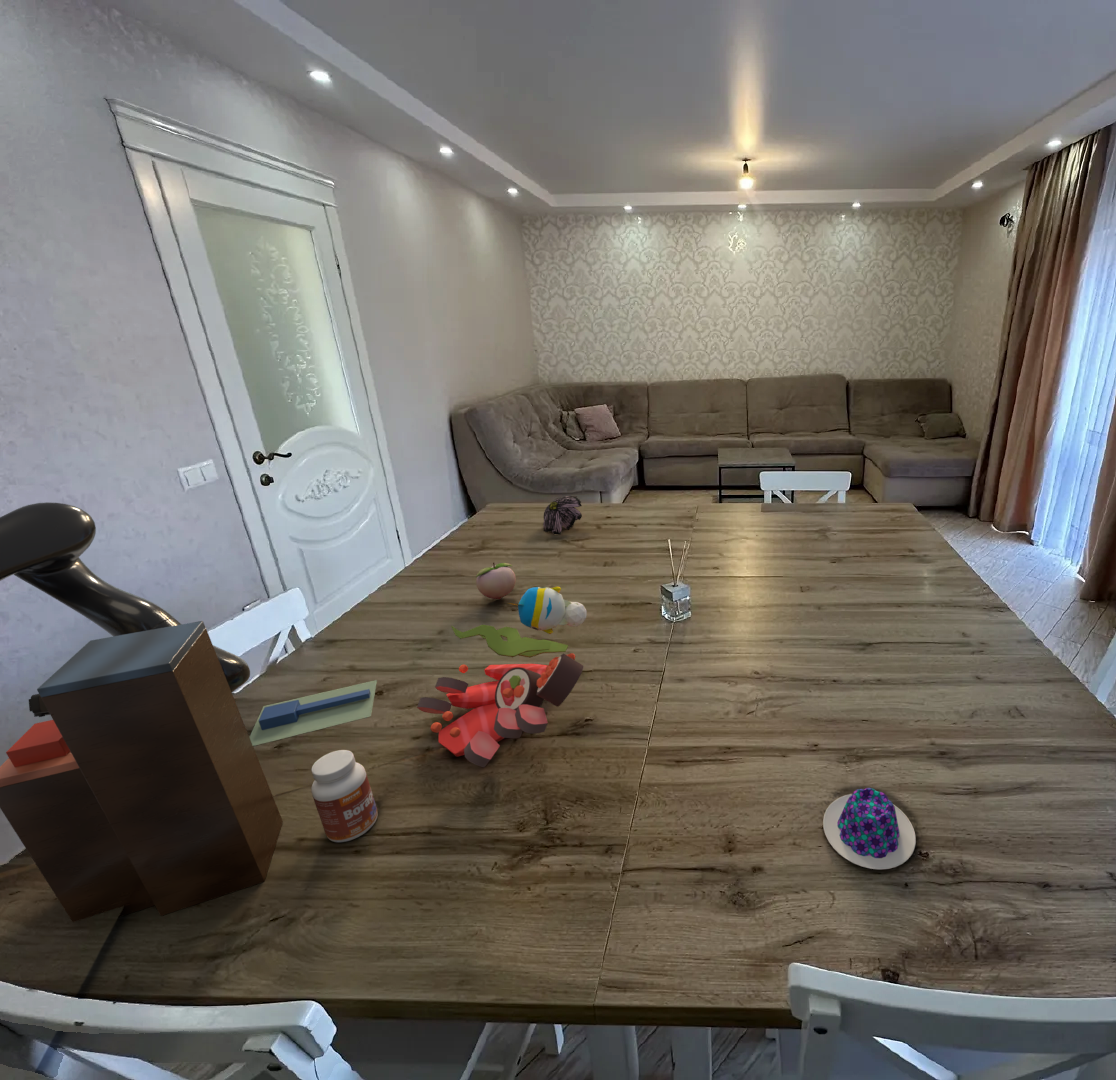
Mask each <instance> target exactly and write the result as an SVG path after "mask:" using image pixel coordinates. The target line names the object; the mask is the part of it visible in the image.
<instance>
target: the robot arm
mask: <svg viewBox="0 0 1116 1080" xmlns="http://www.w3.org/2000/svg"><path fill="white" fill-rule="evenodd" d="M96 532H97V526H96V523H95V521H94V519H93V517H92V516H91V515H90V514H89V513H88V512H87V511H86V510H84V509H82V508H80V507H77V506H75V505H72V504H67V503H63V502H52V501H51V502H50V501H49V502H48V501H47V502H36V503H31V504H26V505H23V506H20V507H19V508H16V509H14V510H12V511H10V512H7V513H6V514H4V515H1V516H0V582H1V581H4V580H5V579H7V578H9V577H11V576H15V577H16V578H18V579H20V580H22V581H23V582H25V583H27V584H28V585H31V586H32V587H34V588H36V589H38V590H39V591H41V592H43V593H45V594H47V595H48V596H50V597H51V598H53V599H55V600H57V601H58V602H60V603H62V604H63V605H65V606H67V607H69V608H70V609H72V610H73V611H74V612H77V613H78V614H80V615H81V616H84V618H86V619H87V620H89V621H90V622H92V623H94V624H96V625H97V626H98V627H100V628H101V629H103V630H104V632H105V631H106V633H108V634H109V635H111V637H113V636H119V635H125V634H130V633H136V632H142V631H147V630H153V629H159V628H164V627H170V626H176V625H181V624H182V623H181V622H180V621H179V620H178V619H177V618H176V617H174V615H172V614H171V613H170V612H169V611H167V610H166V609H164V608H163V607H161V606H160V605H158V604H156V603H155V602H153V601H151V600H149V599H146V598H143V597H141V596H139V595H135V594H133V593H131V592H128V591H126V590H123V589H120V588H119V587H116V586H114V585H112V584H111V583H109V582H107V581H105V580H104V579H102V578H101V577H99V576H98V575H97V574H95V573H94V572H93V571H92V570H91V569H90V568H89V567H88V566H87V565H86V564H85V563H84V562H83V560H82V559H81V558H80V557H81V556H82V555H83V554H84V553H85V552H86V551H87V549H89V547H90V546H91V545H92V543H93V541H94V540H95V537H96V534H97V533H96ZM212 645H213V647H214V650H215V652H216V655H217V657H218V660H219V662H220V665H221V667H222V670H223V672H224V675H225V677H226V680H227V682H228V685H229V687H230V690H231V692H232V693H234V692H235V691H236V690H238V689H239V688H240V687H242V686H243V685H244V684H246V682H248V680H249V679H250V676H251V669H250V666H249V664H248V663H247V662H246V661H245V660H244V659H243V658H242V657H240V656H238V655H236V654H234V653H232V652H230V651H227V650H225V649H222V648H220V647H218V646H216V645H214V644H212ZM41 698H42V697H41V696H40V694H39V693H35V694H32V695H30V698H29V699H28V708H29V712H32V714H33V717H35V718H36V717H38V718H42V717H43V718H44V717H46V716H51V715H50V713H49V711H48V710H47V708H46V706H45V704H44V702H43V700H42V699H41Z"/></svg>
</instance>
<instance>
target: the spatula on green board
mask: <svg viewBox="0 0 1116 1080" xmlns="http://www.w3.org/2000/svg"><path fill="white" fill-rule="evenodd" d="M377 683H378V679H375V680H370V681H367V682H360V683H358V684H357V683H356V684H353V685H349V686H345V687H340V688H336V689H332V690H327V691H323V692H319V693H315V694H310V695H306V696H302V697H297V698H293V699H290V700H284V701H279V702H276V703H271V704H267V705H263V706H262V708H261V711H260V713H259V715H258V717H257V719H256V721H255V724H254V726H253V728H252V731H251V733H250V735H249V738H250V740H251V743H252V745H253V747H255V746H256V747H257V746H259V745H263V744H268V743H272V742H275V741H280V740H284V739H288V738H291V737H296V736H300V735H303V734H308V733H311V732H316V731H319V730H323V729H327V728H331V727H335V726H339V725H344V724H346V723H347V724H348V723H351V722H355V721H359V720H363V719H367V718H370V717H372V712H373V707H374V701H375V694H376V690H377V689H376V688H377ZM367 689H370V693H371V694H370V698H368V699H364V700H359V701H355V702H351V703H347V704H343V705H339V706H335V707H330V708H326V709H322V710H318V711H314V712H310V713H305V714H301V715H299V717H298V720H297V722H294V723H290V724H286V725H282V726H278V727H274V728H269V729H265V730H262V729H261V726H260V724H259V719H260V716H261V714H262V712H263V710H264V708H265V707H269V706H273V705H277V704H282V703H286V702H290V701H295V700H299V703H300V705H303V704H307V703H312V702H316V701H320V700H324V699H329V698H333V697H337V696H341V695H346V694H350V693H354V692H358V691H363V690H367Z"/></svg>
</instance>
